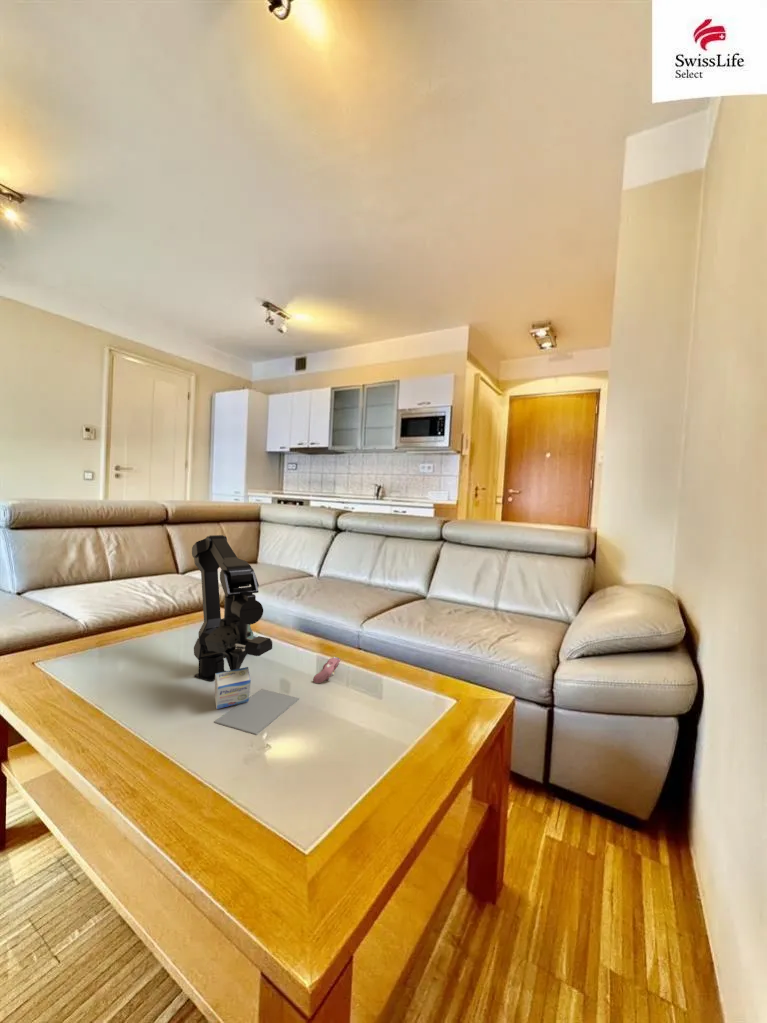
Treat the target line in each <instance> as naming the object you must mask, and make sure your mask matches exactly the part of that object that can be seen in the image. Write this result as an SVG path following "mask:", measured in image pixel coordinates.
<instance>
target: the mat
mask: <svg viewBox="0 0 767 1023" xmlns="http://www.w3.org/2000/svg"><path fill="white" fill-rule="evenodd" d="M299 700H300V697H297V696H294V695H288V694H285V693H282V692H276V691H272V690H268V689H265V688H261V689H259V690H257V691H256V692H255V693H253V694H252V695H249V701H248V702H244V703H240V704H236V705H235V706H234V707H233V708H231V709H230V710H228V711H227V712H226V713H224V714H223V715H222V716H219V717H218V718H217V719H214V720H213V723H215V724H218V725H221V726H225V727H229V728H231V729H234V730H235V729H236V730H238V731H242V732H245V733H248V734H252V735H255V736H256V735H258V734H259V733H261V732H263V731H264V729H265V728H267V727H268V726H269V725H271V724H272V723H273V722H274V721H276V720H277V719H278V718H279V717H280V716H281V715H282V714H284V713H285V712H286V711H287V710H288V709H290V707H292V706H294V704H296V703H297V702H298V701H299Z"/></svg>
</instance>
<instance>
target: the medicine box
mask: <svg viewBox="0 0 767 1023" xmlns="http://www.w3.org/2000/svg"><path fill="white" fill-rule="evenodd" d="M250 674H251V673H250V671H249V667H248V666H246V667H242V668H241V667H240V669H235V670H230V669H229V670H225V672H220V673H215V680H214V701H215V702H214V703H215V708H216V710H219V709H224V708H228V707H231V706H237V705H239V704H240V703H244V702H248V701H249V697H250V694H251V693H250V692H251V691H250V690H251V681H252V680H251V676H250Z"/></svg>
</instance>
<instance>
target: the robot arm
mask: <svg viewBox="0 0 767 1023" xmlns="http://www.w3.org/2000/svg"><path fill="white" fill-rule="evenodd" d="M191 556H192V558H193V560H194V565H195V566H196V567H197V569H198V570H199V572H200V575H201V580H200V581H201V593H202V594H201V595H202V609H203V611H202V613H203V623H202V624H201V627H200V629H199V631H198V637H197V639H196V641H195V643H194V646H193V656H195V658H196V659H197V660H198V673H196V674H193V675H194V678H197V679H201V680H204V681H208V682H213V681H215V673H220V672H225V671H226V670H225V660H224V658H225V659H226V661H227V664H228V667H229V671H230V670H235V669H240V668H241V667H242V665H243V663H244V660H245V659H246V657H247V655H250V656H254V657H260V656H262V655H263V654H265V653H267V652H269V651H271V650H272V649H273V640H272V639H271V638H270V637H265V636H261V635H259V636H256V638H254V639H248V638H247V637H249V636H251V632H249V631H248V624H249V625H250V626H251V625H254V624H257V623H258V622H259V621H260V620H261V618H263V614H264V608H263V605H262V603H261V602H260V601H258V600H257V599H256V598H257V597H256V594H257V593H258V594H259V586H260V584H259V582H258V579H257V576H256V573H255V570H254V568H253V567H252V565H251V564H250V563H248V561H247V560H244V559H241V558H239V557H238V556H237V554H236V553H235V551H234V550H233V548H232V546H231V545H230V544H229V542H228V539H227V536H226V535H224V534H218V535H217V534H216V535H215V534H214V535H213V534H211V535H208V536H206V537H205V538H203V539H201V540H198V541H195V543H194V544H193V545H192V546H191ZM219 568H220V572H219ZM219 581H220V582H219ZM219 583H220V584H221V587H222V590H223V594H224V612H223V614H224V615H223V618H222V615H221V614H222V613H221V598H220V585H219ZM223 655H225V657H223Z"/></svg>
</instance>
